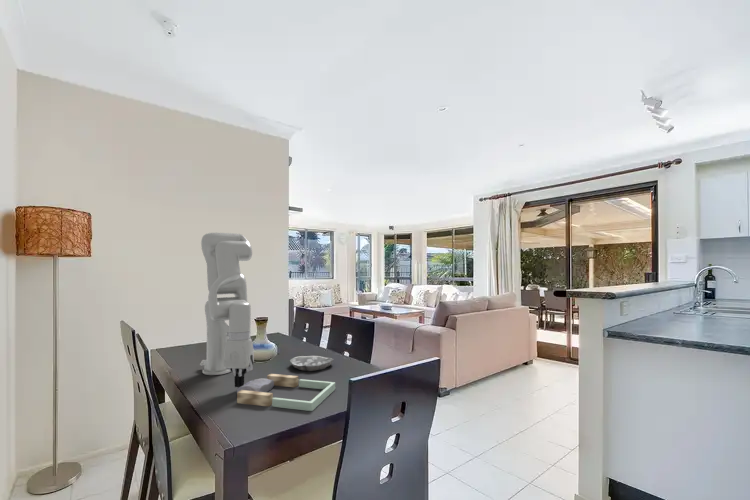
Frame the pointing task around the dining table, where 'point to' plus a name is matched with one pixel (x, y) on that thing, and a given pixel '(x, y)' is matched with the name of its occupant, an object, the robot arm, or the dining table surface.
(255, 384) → the stone block
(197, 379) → the dining table surface
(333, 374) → the dining table surface
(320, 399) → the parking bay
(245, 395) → the blocks
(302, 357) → the brain slice
